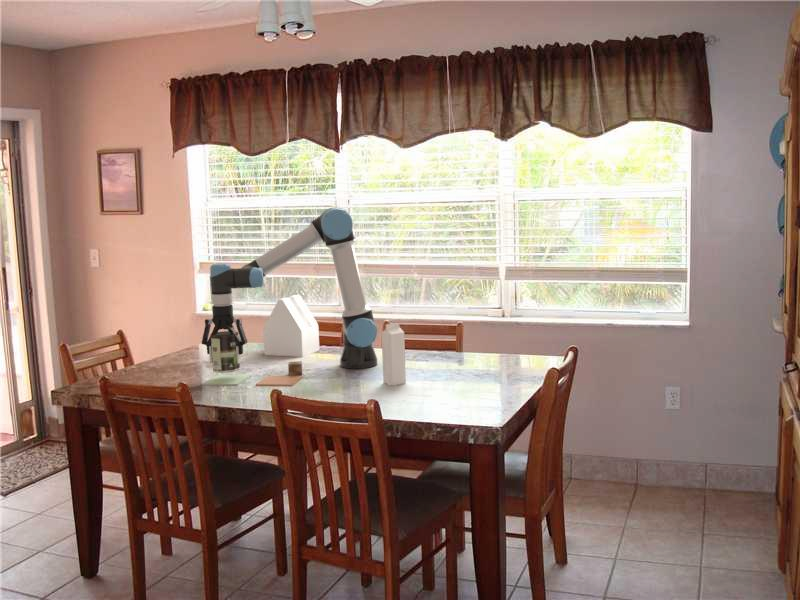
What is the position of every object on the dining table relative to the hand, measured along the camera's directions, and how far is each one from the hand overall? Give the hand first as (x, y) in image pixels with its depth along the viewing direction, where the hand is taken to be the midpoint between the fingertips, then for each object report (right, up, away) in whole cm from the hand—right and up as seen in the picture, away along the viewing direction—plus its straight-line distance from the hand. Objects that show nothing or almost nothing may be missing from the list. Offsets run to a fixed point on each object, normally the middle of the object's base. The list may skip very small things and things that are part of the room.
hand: (225, 362), depth 297 cm
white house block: (+18, 0, +52) cm, 55 cm away
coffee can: (0, -3, +1) cm, 3 cm away
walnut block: (+26, -6, +7) cm, 27 cm away
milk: (+64, -7, -11) cm, 65 cm away
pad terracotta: (+21, -7, -3) cm, 22 cm away
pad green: (0, -7, +1) cm, 7 cm away
